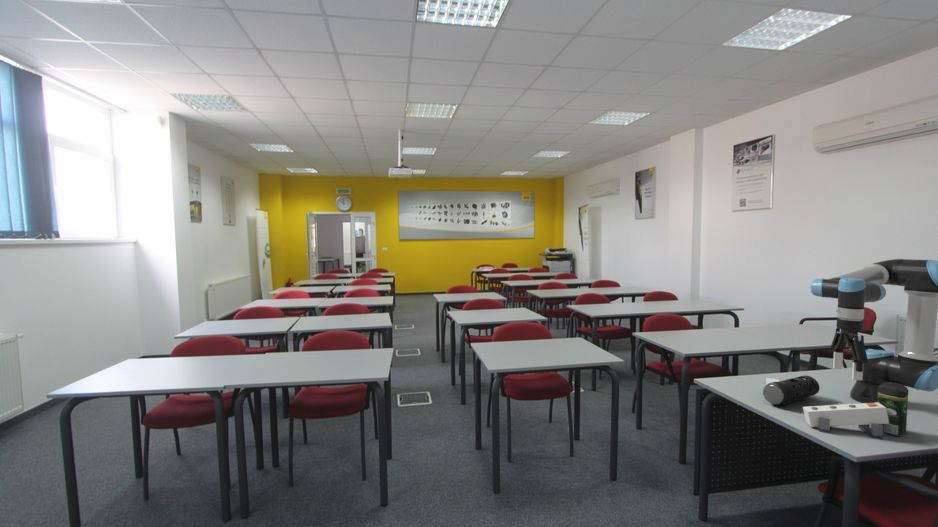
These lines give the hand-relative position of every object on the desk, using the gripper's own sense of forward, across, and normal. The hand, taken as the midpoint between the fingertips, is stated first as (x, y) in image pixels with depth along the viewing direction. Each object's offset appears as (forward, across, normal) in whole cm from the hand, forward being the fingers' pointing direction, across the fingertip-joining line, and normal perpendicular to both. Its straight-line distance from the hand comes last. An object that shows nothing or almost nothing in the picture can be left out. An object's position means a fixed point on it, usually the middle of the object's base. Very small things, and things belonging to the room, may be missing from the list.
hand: (847, 374), depth 160 cm
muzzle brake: (+22, -26, -8) cm, 35 cm away
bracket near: (+22, +1, +8) cm, 23 cm away
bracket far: (+22, +1, -8) cm, 23 cm away
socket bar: (+19, +1, 0) cm, 19 cm away
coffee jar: (+22, -3, +16) cm, 27 cm away
